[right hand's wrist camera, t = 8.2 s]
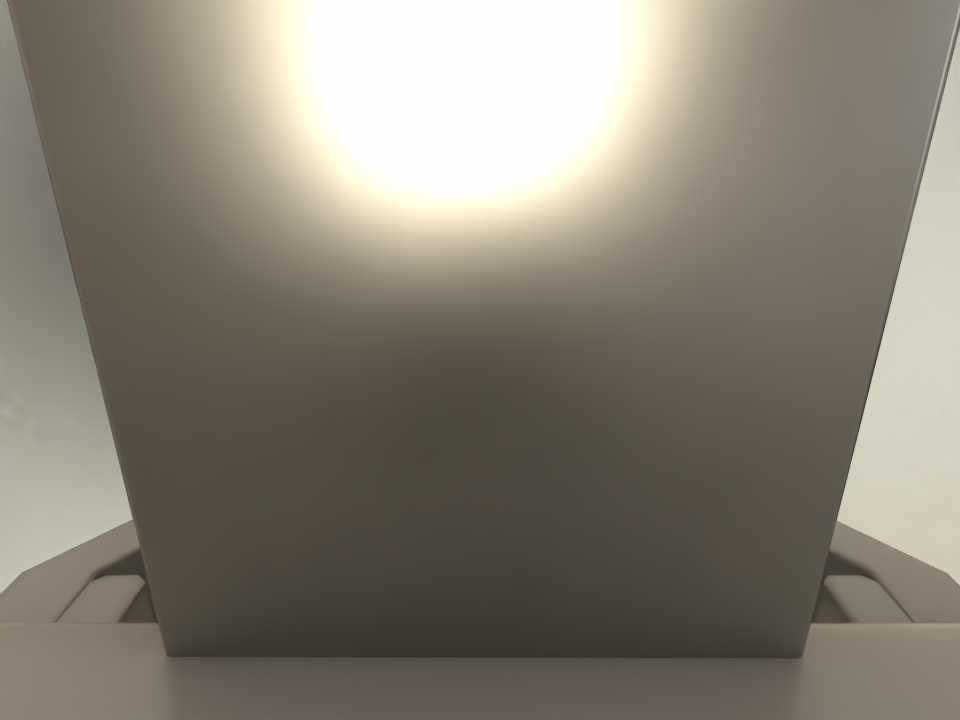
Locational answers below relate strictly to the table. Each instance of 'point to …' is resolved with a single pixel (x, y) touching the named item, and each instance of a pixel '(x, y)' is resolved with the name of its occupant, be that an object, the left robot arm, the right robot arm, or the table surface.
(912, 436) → the table surface
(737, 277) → the bar
